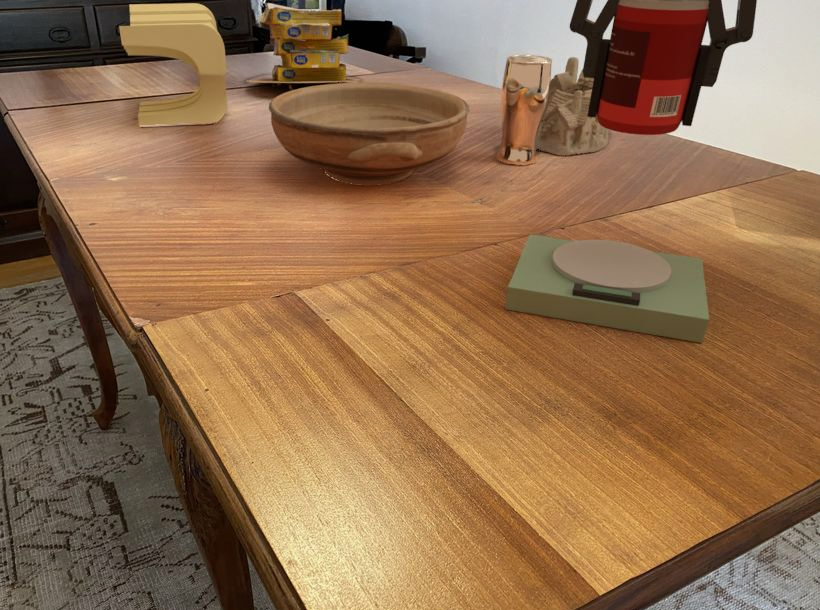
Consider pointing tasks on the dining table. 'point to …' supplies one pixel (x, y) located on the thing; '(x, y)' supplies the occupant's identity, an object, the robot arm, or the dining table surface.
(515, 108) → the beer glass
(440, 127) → the ceramic bowl
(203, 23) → the yellow c-shaped bracket
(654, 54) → the canned food
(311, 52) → the stacked yellow boxes
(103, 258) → the dining table surface
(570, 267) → the kitchen scale
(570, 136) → the ceramic cottage
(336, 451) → the dining table surface
